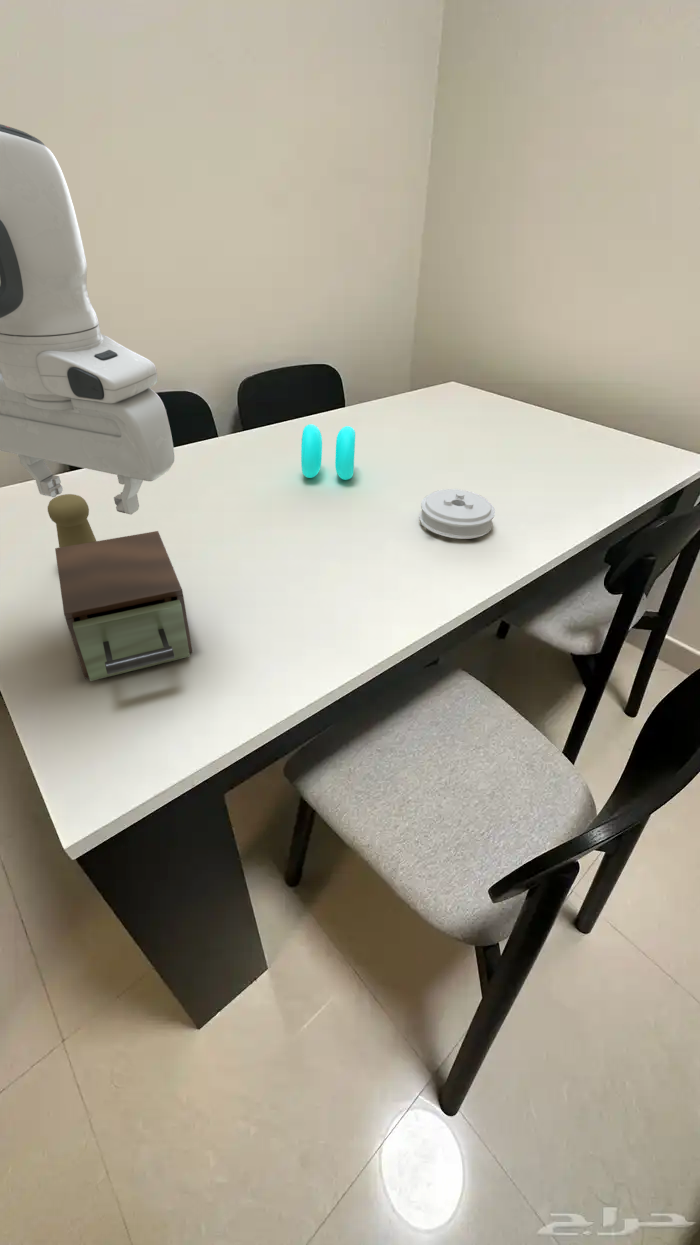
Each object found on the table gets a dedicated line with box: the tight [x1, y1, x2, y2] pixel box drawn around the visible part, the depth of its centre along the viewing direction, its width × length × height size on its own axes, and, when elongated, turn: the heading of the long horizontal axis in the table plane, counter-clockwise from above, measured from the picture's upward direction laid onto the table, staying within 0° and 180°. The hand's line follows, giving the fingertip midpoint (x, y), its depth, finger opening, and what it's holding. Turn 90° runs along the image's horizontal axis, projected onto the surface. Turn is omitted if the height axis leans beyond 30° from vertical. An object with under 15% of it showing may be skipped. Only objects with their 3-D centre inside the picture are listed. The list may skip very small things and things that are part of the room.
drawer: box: [73, 598, 191, 682], centre depth 69 cm, size 18×11×8 cm, turn 25°
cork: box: [47, 493, 97, 548], centre depth 83 cm, size 6×6×11 cm
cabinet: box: [54, 530, 193, 680], centre depth 73 cm, size 15×13×10 cm
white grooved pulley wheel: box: [419, 488, 496, 540], centre depth 100 cm, size 13×13×5 cm
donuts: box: [300, 423, 356, 481], centre depth 112 cm, size 10×10×10 cm
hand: (89, 502), depth 60 cm, fingers open, 8 cm apart
